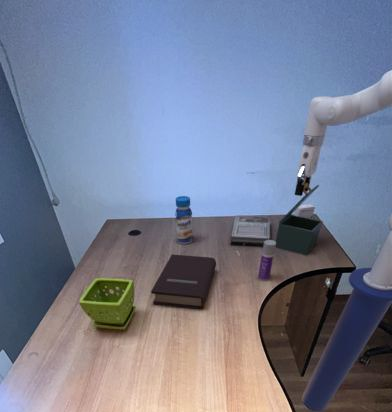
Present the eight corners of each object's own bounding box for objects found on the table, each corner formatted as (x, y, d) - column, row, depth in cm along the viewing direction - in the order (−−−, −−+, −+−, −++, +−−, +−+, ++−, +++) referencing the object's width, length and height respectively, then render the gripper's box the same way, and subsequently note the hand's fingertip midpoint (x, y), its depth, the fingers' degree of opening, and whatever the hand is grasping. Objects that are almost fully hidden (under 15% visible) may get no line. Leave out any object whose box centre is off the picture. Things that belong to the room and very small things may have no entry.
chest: (315, 243, 130) (322, 221, 122) (306, 255, 123) (312, 231, 115) (285, 236, 137) (290, 214, 129) (274, 246, 129) (279, 224, 121)
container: (258, 280, 109) (264, 244, 98) (258, 274, 112) (263, 239, 102) (269, 280, 109) (276, 245, 98) (269, 274, 112) (276, 239, 101)
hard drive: (230, 245, 132) (231, 236, 129) (235, 223, 150) (235, 215, 147) (268, 247, 129) (269, 238, 126) (268, 225, 147) (269, 216, 144)
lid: (319, 185, 115) (311, 176, 115) (308, 194, 108) (300, 185, 107) (291, 214, 129) (284, 206, 128) (279, 223, 121) (272, 215, 121)
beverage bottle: (194, 237, 139) (193, 195, 124) (192, 244, 133) (190, 201, 119) (178, 236, 140) (175, 194, 125) (175, 244, 134) (171, 201, 120)
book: (204, 310, 97) (204, 296, 92) (153, 304, 100) (151, 291, 95) (216, 270, 115) (216, 257, 111) (173, 266, 118) (171, 254, 114)
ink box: (304, 226, 145) (310, 203, 136) (309, 230, 141) (315, 206, 133) (290, 228, 143) (295, 205, 135) (294, 232, 140) (300, 208, 131)
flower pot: (105, 306, 99) (95, 276, 90) (141, 309, 98) (134, 279, 88) (89, 331, 90) (76, 301, 81) (128, 335, 88) (119, 304, 79)
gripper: (315, 145, 95) (302, 200, 108) (329, 137, 105) (316, 189, 118) (295, 143, 99) (284, 197, 112) (311, 136, 108) (300, 186, 121)
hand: (301, 192), depth 115 cm, fingers closed on lid, 6 cm apart
